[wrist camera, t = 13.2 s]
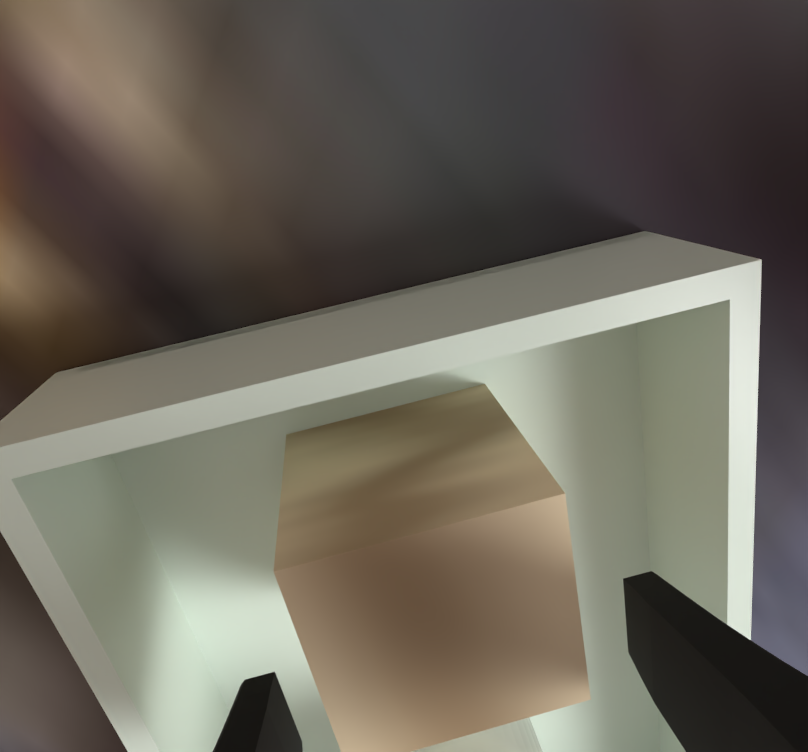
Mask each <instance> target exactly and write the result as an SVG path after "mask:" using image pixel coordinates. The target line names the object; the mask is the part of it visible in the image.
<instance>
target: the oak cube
mask: <svg viewBox="0 0 808 752" xmlns="http://www.w3.org/2000/svg"><path fill="white" fill-rule="evenodd" d="M274 575H275V577H276V580H277V583H278V585H279V588H280V590H281V593H282V596H283V598H284V601H285V604H286V606H287V609H288V612H289V614H290V617H291V620H292V622H293V625H294V628H295V630H296V633H297V636H298V638H299V641H300V644H301V646H302V649H303V652H304V654H305V657H306V660H307V662H308V665H309V668H310V670H311V673H312V676H313V678H314V681H315V684H316V686H317V689H318V692H319V694H320V697H321V700H322V702H323V705H324V708H325V710H326V713H327V716H328V718H329V721H330V724H331V726H332V729H333V732H334V734H335V737H336V740H337V742H338V745H339V748H340V750H341V752H411V751H415V750H418V749H422V748H425V747H429V746H432V745H436V744H439V743H443V742H446V741H449V740H453V739H456V738H460V737H463V736H467V735H470V734H474V733H477V732H480V731H484V730H487V729H491V728H494V727H498V726H501V725H505V724H508V723H512V722H515V721H518V720H522V719H525V718H529V717H532V716H536V715H539V714H543V713H546V712H550V711H553V710H556V709H560V708H563V707H567V706H570V705H574V704H577V703H581V702H584V701H587V700H591V697H590V689H589V681H588V673H587V665H586V657H585V649H584V641H583V633H582V625H581V616H580V608H579V600H578V592H577V584H576V576H575V568H574V560H573V552H572V544H571V536H570V528H569V520H568V511H567V503H566V495H565V492H564V491H563V490H562V488H561V487H560V486H559V484H558V483H557V481H556V480H555V479H554V477H553V476H552V475H551V473H550V472H549V471H548V469H547V468H546V466H545V465H544V464H543V462H542V461H541V460H540V458H539V457H538V456H537V454H536V453H535V451H534V450H533V449H532V447H531V446H530V445H529V443H528V442H527V441H526V439H525V438H524V436H523V435H522V434H521V432H520V431H519V430H518V428H517V427H516V426H515V424H514V423H513V421H512V420H511V419H510V417H509V416H508V415H507V413H506V412H505V411H504V409H503V408H502V406H501V405H500V404H499V402H498V401H497V400H496V398H495V397H494V396H493V394H492V393H491V391H490V390H489V389H488V387H487V386H486V385H485V384H482V385H478V386H474V387H470V388H466V389H462V390H459V391H455V392H451V393H447V394H443V395H439V396H435V397H431V398H427V399H423V400H419V401H416V402H412V403H408V404H404V405H400V406H396V407H392V408H388V409H384V410H380V411H376V412H373V413H369V414H365V415H361V416H357V417H353V418H349V419H345V420H341V421H337V422H333V423H330V424H326V425H322V426H318V427H314V428H310V429H306V430H302V431H298V432H294V433H290V434H287V435H286V444H285V455H284V465H283V476H282V487H281V497H280V508H279V518H278V529H277V540H276V550H275V561H274Z"/></svg>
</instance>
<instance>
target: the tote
mask: <svg viewBox="0 0 808 752" xmlns="http://www.w3.org/2000/svg"><path fill="white" fill-rule="evenodd" d="M761 269H762V259H758V258H754V257H749V256H745V255H741V254H737V253H733V252H729V251H725V250H721V249H717V248H713V247H709V246H705V245H701V244H696V243H692V242H688V241H684V240H680V239H676V238H672V237H668V236H664V235H660V234H656V233H652V232H648V231H642V232H638V233H634V234H630V235H626V236H622V237H617V238H613V239H609V240H605V241H601V242H597V243H593V244H588V245H584V246H580V247H576V248H572V249H568V250H563V251H559V252H555V253H551V254H547V255H543V256H538V257H534V258H530V259H526V260H522V261H518V262H514V263H509V264H505V265H501V266H497V267H493V268H489V269H484V270H480V271H476V272H472V273H468V274H464V275H460V276H455V277H451V278H447V279H443V280H439V281H435V282H430V283H426V284H422V285H418V286H414V287H410V288H406V289H401V290H397V291H393V292H389V293H385V294H381V295H376V296H372V297H368V298H364V299H360V300H356V301H351V302H347V303H343V304H339V305H335V306H331V307H327V308H322V309H318V310H314V311H310V312H306V313H302V314H297V315H293V316H289V317H285V318H281V319H277V320H273V321H268V322H264V323H260V324H256V325H252V326H248V327H243V328H239V329H235V330H231V331H227V332H223V333H219V334H214V335H210V336H206V337H202V338H198V339H194V340H189V341H185V342H181V343H177V344H173V345H169V346H164V347H160V348H156V349H152V350H148V351H144V352H140V353H135V354H131V355H127V356H123V357H119V358H115V359H110V360H106V361H102V362H98V363H94V364H90V365H86V366H81V367H77V368H73V369H69V370H65V371H61V372H56V373H55V374H54V375H53V376H51V377H50V378H49V379H48V380H47V381H46V382H45V383H43V384H42V385H41V386H40V387H39V388H38V389H36V390H35V391H34V392H33V393H32V394H31V395H30V396H28V397H27V398H26V399H25V400H24V401H23V402H21V403H20V404H19V405H18V406H17V407H16V408H15V409H13V410H12V411H11V412H10V413H9V414H8V415H6V416H5V417H4V418H3V419H2V420H1V421H0V532H1V533H2V535H3V537H4V538H5V540H6V542H7V544H8V545H9V547H10V549H11V551H12V552H13V554H14V556H15V557H16V559H17V561H18V563H19V564H20V566H21V568H22V570H23V571H24V573H25V575H26V577H27V578H28V580H29V582H30V583H31V585H32V587H33V589H34V590H35V592H36V594H37V596H38V597H39V599H40V601H41V602H42V604H43V606H44V608H45V609H46V611H47V613H48V615H49V616H50V618H51V620H52V621H53V623H54V625H55V627H56V628H57V630H58V632H59V634H60V635H61V637H62V639H63V641H64V642H65V644H66V646H67V647H68V649H69V651H70V653H71V654H72V656H73V658H74V660H75V661H76V663H77V665H78V666H79V668H80V670H81V672H82V673H83V675H84V677H85V679H86V680H87V682H88V684H89V686H90V687H91V689H92V691H93V692H94V694H95V696H96V698H97V699H98V701H99V703H100V705H101V706H102V708H103V710H104V711H105V713H106V715H107V717H108V718H109V720H110V722H111V724H112V725H113V727H114V729H115V730H116V732H117V734H118V736H119V737H120V739H121V741H122V743H123V744H124V746H125V748H126V750H127V751H128V752H213V750H214V747H215V745H216V743H217V741H218V738H219V736H220V734H221V731H222V729H223V727H224V724H225V722H226V720H227V717H228V715H229V712H230V710H231V708H232V705H233V703H234V700H235V698H236V695H237V693H238V690H239V688H240V685H241V684H242V683H243V681H244V680H245V679H249V678H253V677H257V676H260V675H264V674H268V673H272V672H275V673H276V676H277V678H278V681H279V684H280V686H281V689H282V691H283V694H284V696H285V699H286V701H287V704H288V707H289V709H290V712H291V714H292V717H293V719H294V722H295V724H296V727H297V730H298V732H299V735H300V737H301V740H302V747H303V752H341V750H340V748H339V745H338V742H337V740H336V737H335V734H334V732H333V729H332V726H331V724H330V721H329V718H328V716H327V713H326V710H325V708H324V705H323V702H322V700H321V697H320V694H319V692H318V689H317V686H316V684H315V681H314V678H313V676H312V673H311V670H310V668H309V665H308V662H307V660H306V657H305V654H304V652H303V649H302V646H301V644H300V641H299V638H298V636H297V633H296V630H295V628H294V625H293V622H292V620H291V617H290V614H289V612H288V609H287V606H286V604H285V601H284V598H283V596H282V593H281V590H280V588H279V585H278V583H277V580H276V577H275V575H274V561H275V550H276V540H277V529H278V518H279V508H280V497H281V487H282V476H283V465H284V455H285V444H286V435H287V434H290V433H294V432H298V431H302V430H306V429H310V428H314V427H318V426H322V425H326V424H330V423H333V422H337V421H341V420H345V419H349V418H353V417H357V416H361V415H365V414H369V413H373V412H376V411H380V410H384V409H388V408H392V407H396V406H400V405H404V404H408V403H412V402H416V401H419V400H423V399H427V398H431V397H435V396H439V395H443V394H447V393H451V392H455V391H459V390H462V389H466V388H470V387H474V386H478V385H482V384H485V385H486V386H487V387H488V389H489V390H490V391H491V393H492V394H493V396H494V397H495V398H496V400H497V401H498V402H499V404H500V405H501V406H502V408H503V409H504V411H505V412H506V413H507V415H508V416H509V417H510V419H511V420H512V421H513V423H514V424H515V426H516V427H517V428H518V430H519V431H520V432H521V434H522V435H523V436H524V438H525V439H526V441H527V442H528V443H529V445H530V446H531V447H532V449H533V450H534V451H535V453H536V454H537V456H538V457H539V458H540V460H541V461H542V462H543V464H544V465H545V466H546V468H547V469H548V471H549V472H550V473H551V475H552V476H553V477H554V479H555V480H556V481H557V483H558V484H559V486H560V487H561V488H562V490H563V491H564V492H565V495H566V503H567V511H568V520H569V528H570V536H571V544H572V552H573V560H574V568H575V576H576V584H577V592H578V600H579V608H580V616H581V625H582V633H583V641H584V649H585V657H586V665H587V673H588V681H589V689H590V697H591V700H587V701H584V702H581V703H577V704H574V705H570V706H567V707H563V708H560V709H556V710H553V711H550V712H546V713H543V714H539V715H536V716H532V717H530V720H531V722H532V725H533V727H534V730H535V733H536V735H537V738H538V741H539V743H540V746H541V748H542V751H543V752H686V751H685V749H684V748H683V746H682V745H681V743H680V742H679V740H678V739H677V737H676V736H675V734H674V733H673V731H672V730H671V728H670V726H669V725H668V723H667V722H666V720H665V719H664V717H663V716H662V714H661V713H660V711H659V709H658V708H657V706H656V705H655V703H654V701H653V700H652V698H651V696H650V694H649V692H648V690H647V688H646V686H645V684H644V682H643V681H642V679H641V677H640V675H639V673H638V671H637V669H636V667H635V665H634V663H633V661H632V659H631V657H630V655H629V653H628V643H627V628H626V614H625V600H624V585H623V578H627V577H631V576H635V575H638V574H642V573H646V572H650V571H652V572H654V573H655V574H657V575H658V576H660V577H661V578H663V579H664V580H665V581H667V582H668V583H669V584H671V585H672V586H674V587H675V588H676V589H678V590H679V591H680V592H682V593H683V594H685V595H686V596H687V597H689V598H690V599H692V600H693V601H694V602H696V603H697V604H699V605H700V606H701V607H703V608H704V609H706V610H707V611H708V612H710V613H711V614H713V615H714V616H715V617H717V618H718V619H720V620H721V621H723V622H724V623H726V624H727V625H728V626H730V627H731V628H733V629H734V630H736V631H737V632H739V633H740V634H742V635H743V636H745V637H746V638H748V639H749V640H751V613H752V578H753V544H754V510H755V475H756V441H757V406H758V372H759V337H760V303H761Z"/></svg>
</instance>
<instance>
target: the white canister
mask: <svg viewBox="0 0 808 752" xmlns="http://www.w3.org/2000/svg"><path fill="white" fill-rule="evenodd" d="M411 752H543V751H542V748H541V746H540V743H539V741H538V738H537V735H536V733H535V730H534V727H533V725H532V722H531V720H530V717H529V718H525V719H522V720H518V721H515V722H512V723H508V724H505V725H501V726H498V727H494V728H491V729H487V730H484V731H480V732H477V733H474V734H470V735H467V736H463V737H460V738H456V739H453V740H449V741H446V742H443V743H439V744H436V745H432V746H429V747H425V748H422V749H418V750H415V751H411Z"/></svg>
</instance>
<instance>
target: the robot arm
mask: <svg viewBox="0 0 808 752" xmlns="http://www.w3.org/2000/svg"><path fill="white" fill-rule="evenodd" d="M623 585H624V600H625V614H626V628H627V643H628V653H629V655H630V657H631V659H632V661H633V663H634V665H635V667H636V669H637V671H638V673H639V675H640V677H641V679H642V681H643V682H644V684H645V686H646V688H647V690H648V692H649V694H650V696H651V698H652V700H653V701H654V703H655V705H656V706H657V708H658V709H659V711H660V713H661V714H662V716H663V717H664V719H665V720H666V722H667V723H668V725H669V726H670V728H671V730H672V731H673V733H674V734H675V736H676V737H677V739H678V740H679V742H680V743H681V745H682V746H683V748H684V749H685V751H686V752H808V676H806V675H805V674H803V673H801V672H800V671H798V670H797V669H795V668H793V667H792V666H790V665H788V664H787V663H785V662H783V661H782V660H780V659H779V658H777V657H776V656H774V655H772V654H771V653H769V652H768V651H766V650H765V649H763V648H761V647H760V646H758V645H757V644H755V643H754V642H752V641H751V640H749V639H748V638H746V637H745V636H743V635H742V634H740V633H739V632H737V631H736V630H734V629H733V628H731V627H730V626H728V625H727V624H726V623H724V622H723V621H721V620H720V619H718V618H717V617H715V616H714V615H713V614H711V613H710V612H708V611H707V610H706V609H704V608H703V607H701V606H700V605H699V604H697V603H696V602H694V601H693V600H692V599H690V598H689V597H687V596H686V595H685V594H683V593H682V592H680V591H679V590H678V589H676V588H675V587H674V586H672V585H671V584H669V583H668V582H667V581H665V580H664V579H663V578H661V577H660V576H658V575H657V574H655V573H654V572H652V571H650V572H646V573H642V574H638V575H635V576H631V577H627V578H623ZM213 752H303V747H302V740H301V737H300V735H299V732H298V730H297V727H296V724H295V722H294V719H293V717H292V714H291V712H290V709H289V707H288V704H287V701H286V699H285V696H284V694H283V691H282V689H281V686H280V684H279V681H278V678H277V676H276V673H275V672H272V673H268V674H264V675H260V676H257V677H253V678H249V679H245V680H244V681H243V683H242V684H241V685H240V688H239V690H238V693H237V695H236V698H235V700H234V703H233V705H232V708H231V710H230V712H229V715H228V717H227V720H226V722H225V724H224V727H223V729H222V731H221V734H220V736H219V738H218V741H217V743H216V745H215V747H214V750H213Z"/></svg>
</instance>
